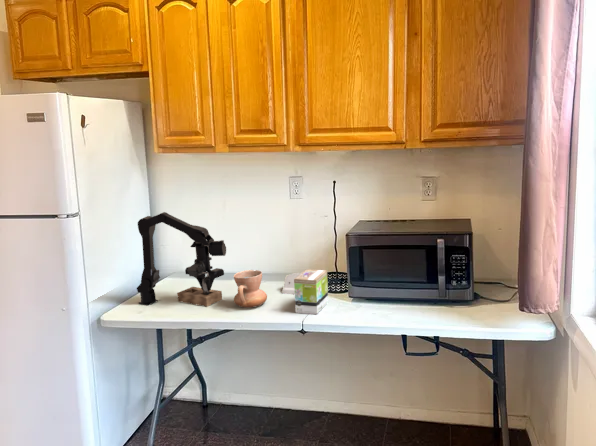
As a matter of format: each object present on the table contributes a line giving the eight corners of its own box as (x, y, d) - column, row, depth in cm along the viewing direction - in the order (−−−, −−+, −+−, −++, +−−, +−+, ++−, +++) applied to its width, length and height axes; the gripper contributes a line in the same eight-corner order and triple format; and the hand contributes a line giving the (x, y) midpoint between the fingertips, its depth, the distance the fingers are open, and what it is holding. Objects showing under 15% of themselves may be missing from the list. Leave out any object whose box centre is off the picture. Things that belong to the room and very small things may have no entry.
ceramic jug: (245, 297, 248) (242, 267, 245) (274, 299, 242) (271, 268, 239) (225, 311, 231) (221, 279, 229) (255, 313, 226) (252, 281, 223)
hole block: (178, 301, 249) (177, 292, 248) (193, 294, 257) (192, 286, 256) (207, 306, 239) (206, 297, 238) (222, 299, 247) (221, 291, 246)
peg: (202, 300, 245) (200, 278, 243) (207, 298, 247) (204, 277, 245) (207, 301, 243) (205, 279, 241) (211, 299, 245) (209, 277, 244)
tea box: (318, 314, 219) (316, 279, 217) (295, 313, 223) (292, 278, 220) (329, 302, 233) (327, 269, 230) (307, 301, 237) (304, 268, 234)
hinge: (281, 293, 250) (282, 271, 251) (285, 293, 254) (286, 272, 256) (315, 295, 244) (316, 273, 245) (319, 295, 248) (320, 273, 249)
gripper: (174, 258, 240) (178, 292, 243) (205, 262, 230) (209, 297, 232) (192, 253, 249) (195, 285, 252) (223, 256, 239) (226, 290, 241)
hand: (206, 290), depth 244 cm, fingers open, 3 cm apart
